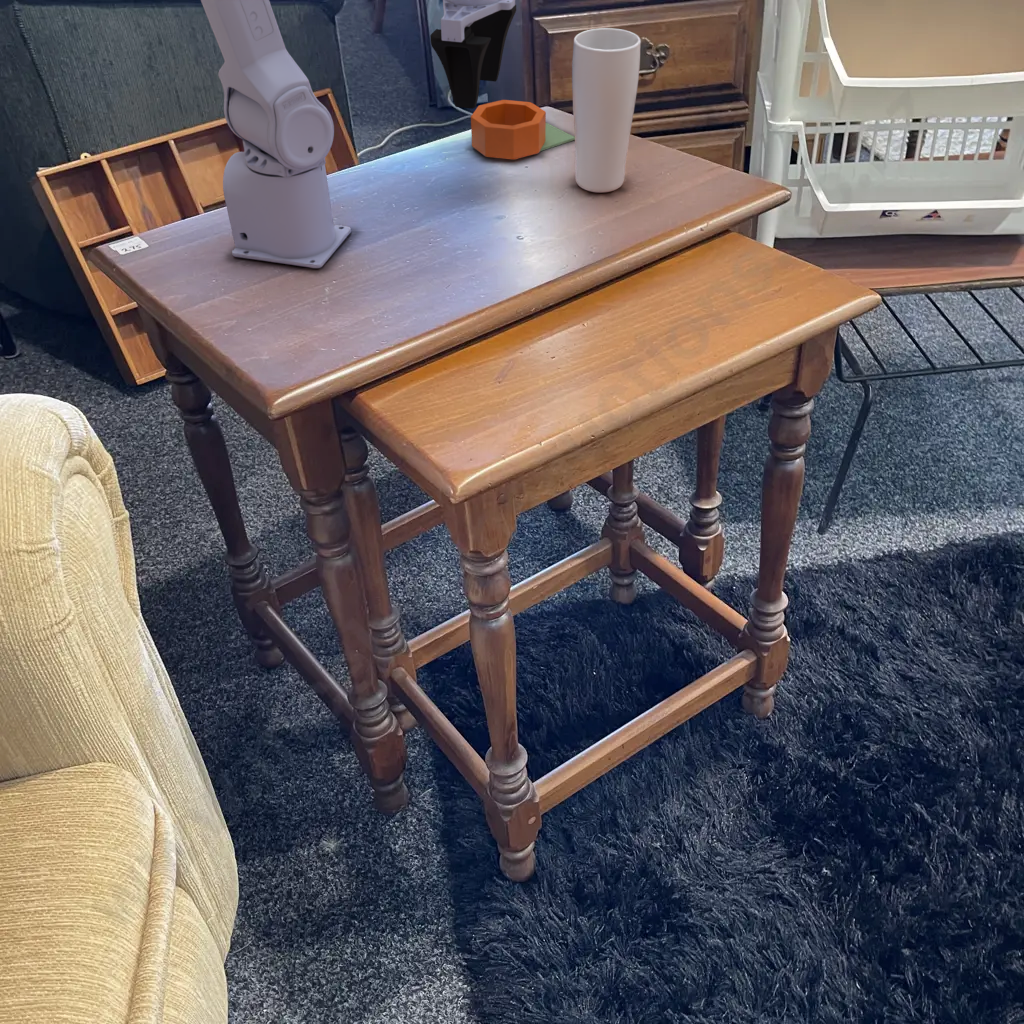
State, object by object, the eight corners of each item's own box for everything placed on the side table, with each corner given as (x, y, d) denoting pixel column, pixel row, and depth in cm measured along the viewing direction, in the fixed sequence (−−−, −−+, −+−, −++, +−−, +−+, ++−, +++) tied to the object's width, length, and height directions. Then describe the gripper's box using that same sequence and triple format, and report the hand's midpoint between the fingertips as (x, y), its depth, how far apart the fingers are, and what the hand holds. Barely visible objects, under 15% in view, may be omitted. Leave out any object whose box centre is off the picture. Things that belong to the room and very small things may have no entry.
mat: (521, 157, 113) (521, 155, 112) (480, 135, 117) (480, 132, 117) (575, 139, 116) (575, 137, 116) (533, 118, 121) (533, 116, 120)
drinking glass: (633, 197, 105) (644, 50, 95) (569, 198, 105) (574, 51, 95) (628, 169, 110) (638, 26, 100) (567, 170, 110) (571, 27, 100)
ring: (465, 155, 113) (464, 124, 110) (484, 127, 118) (484, 97, 116) (534, 161, 111) (534, 131, 109) (550, 133, 117) (550, 103, 114)
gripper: (491, -30, 87) (493, 123, 96) (533, -71, 97) (532, 71, 107) (415, -36, 89) (425, 116, 98) (465, -75, 99) (469, 66, 108)
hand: (476, 92), depth 102 cm, fingers open, 7 cm apart
